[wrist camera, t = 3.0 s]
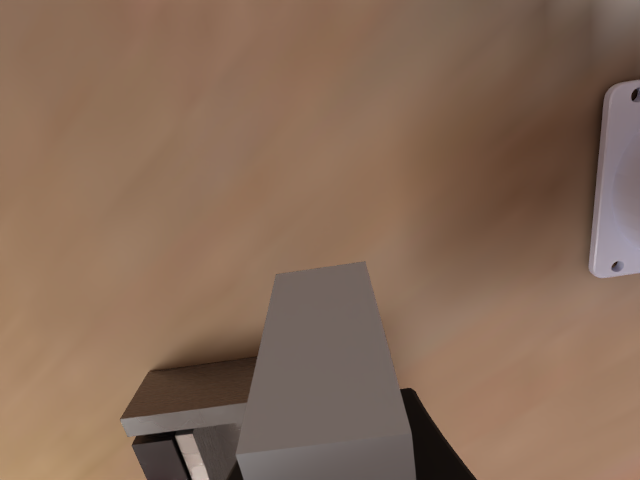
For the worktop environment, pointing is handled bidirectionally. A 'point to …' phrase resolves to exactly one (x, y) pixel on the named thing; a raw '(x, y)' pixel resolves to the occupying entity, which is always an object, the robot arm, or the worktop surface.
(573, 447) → the worktop surface
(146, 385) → the rack
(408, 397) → the robot arm
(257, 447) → the panel
